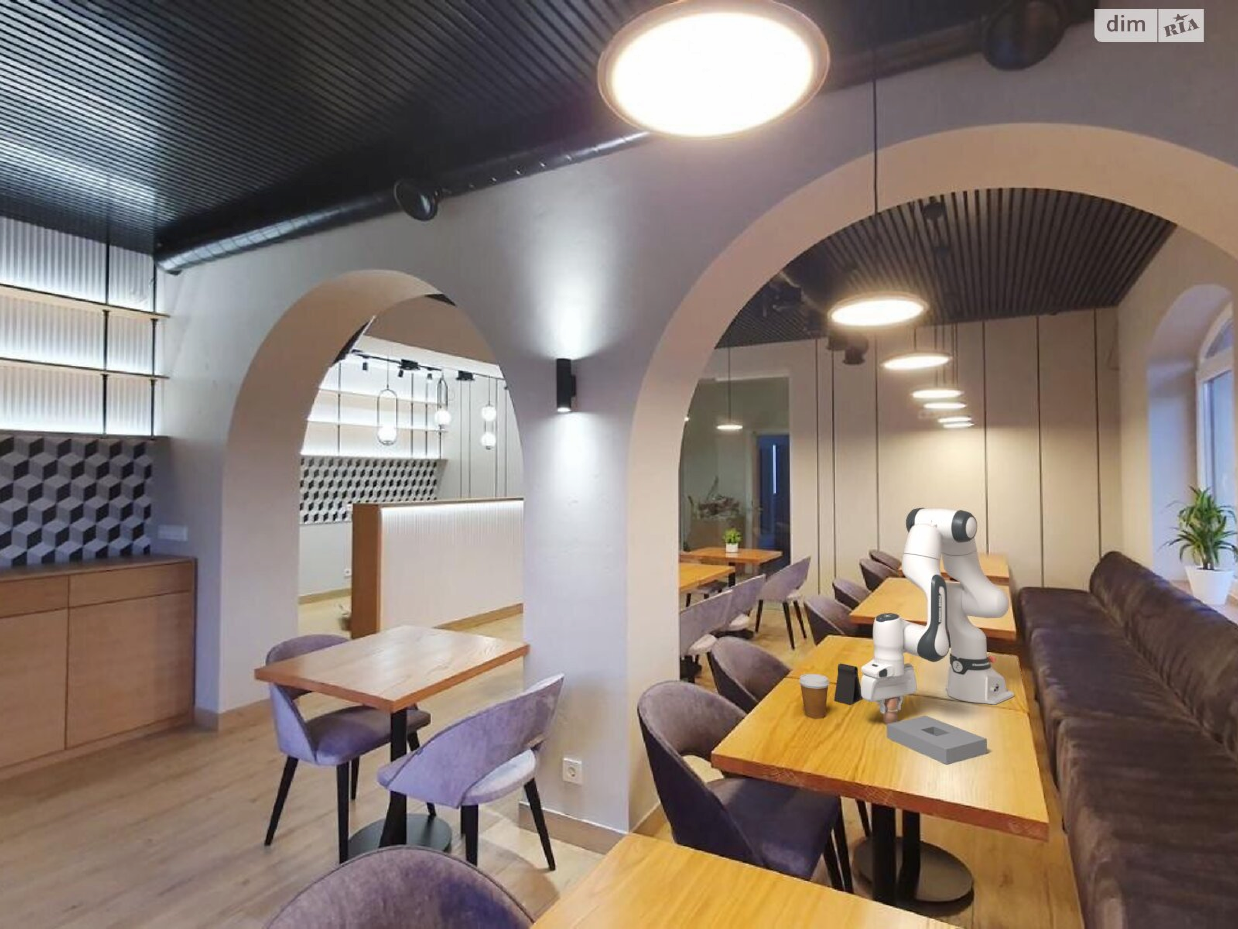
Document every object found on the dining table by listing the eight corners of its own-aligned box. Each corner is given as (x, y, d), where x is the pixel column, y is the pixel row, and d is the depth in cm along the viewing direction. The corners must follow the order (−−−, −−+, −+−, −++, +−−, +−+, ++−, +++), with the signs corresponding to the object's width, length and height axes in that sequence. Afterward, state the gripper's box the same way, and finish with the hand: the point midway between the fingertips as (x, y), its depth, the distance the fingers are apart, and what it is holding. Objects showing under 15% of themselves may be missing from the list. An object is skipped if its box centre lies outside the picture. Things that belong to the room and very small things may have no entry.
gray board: (926, 728, 194) (925, 715, 194) (987, 753, 176) (986, 738, 176) (887, 738, 188) (886, 724, 188) (946, 764, 169) (946, 749, 170)
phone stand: (850, 705, 215) (849, 669, 216) (834, 701, 220) (833, 666, 220) (863, 699, 222) (862, 664, 222) (846, 695, 226) (845, 661, 226)
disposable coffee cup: (826, 722, 201) (825, 684, 201) (796, 717, 206) (795, 679, 206) (833, 713, 209) (832, 676, 209) (804, 708, 214) (803, 672, 214)
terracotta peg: (890, 719, 202) (889, 694, 202) (900, 724, 198) (899, 698, 198) (880, 722, 200) (879, 696, 200) (890, 726, 196) (890, 700, 197)
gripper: (904, 660, 207) (906, 703, 206) (856, 668, 198) (858, 713, 198) (921, 664, 201) (922, 709, 201) (872, 673, 193) (873, 720, 192)
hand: (890, 711), depth 199 cm, fingers closed on terracotta peg, 4 cm apart
